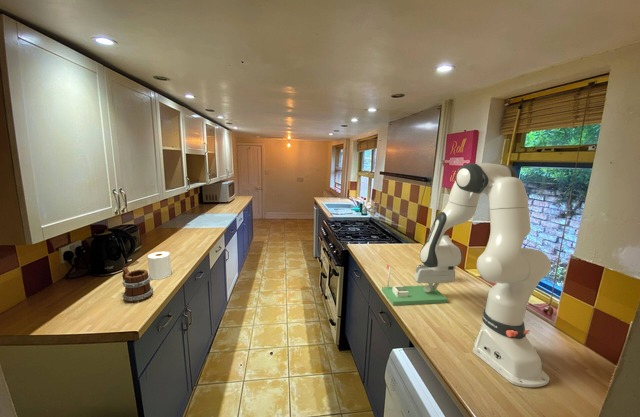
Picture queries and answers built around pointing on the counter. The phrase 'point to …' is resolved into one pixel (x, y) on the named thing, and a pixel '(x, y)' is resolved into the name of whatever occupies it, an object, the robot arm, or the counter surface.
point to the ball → (427, 289)
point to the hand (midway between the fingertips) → (432, 289)
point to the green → (412, 294)
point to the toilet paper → (159, 265)
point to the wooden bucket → (136, 285)
